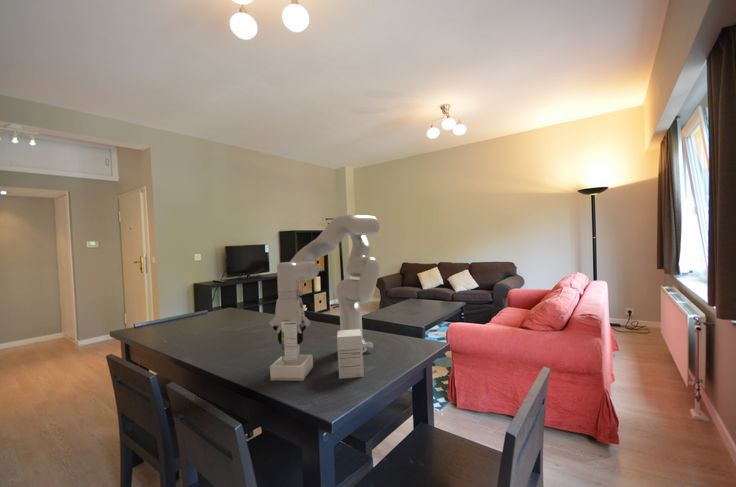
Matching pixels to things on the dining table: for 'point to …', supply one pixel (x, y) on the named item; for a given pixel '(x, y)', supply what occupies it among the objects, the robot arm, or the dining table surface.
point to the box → (291, 368)
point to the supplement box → (350, 353)
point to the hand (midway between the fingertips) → (290, 342)
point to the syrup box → (289, 341)
